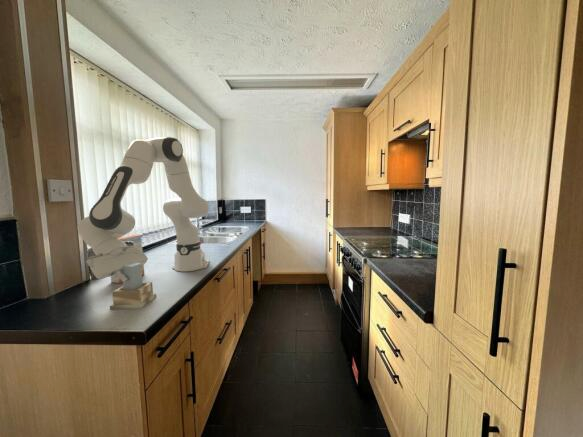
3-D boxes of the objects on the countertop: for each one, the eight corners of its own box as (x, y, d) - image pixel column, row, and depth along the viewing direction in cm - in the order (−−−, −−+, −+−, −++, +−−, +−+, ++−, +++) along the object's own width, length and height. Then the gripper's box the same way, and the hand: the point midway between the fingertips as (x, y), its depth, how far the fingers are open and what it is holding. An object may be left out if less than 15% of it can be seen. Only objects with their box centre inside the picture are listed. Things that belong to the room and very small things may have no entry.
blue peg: (124, 297, 96) (121, 266, 95) (134, 292, 101) (131, 262, 99) (133, 298, 95) (131, 266, 94) (143, 293, 100) (141, 263, 98)
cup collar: (129, 296, 104) (127, 282, 103) (156, 296, 104) (155, 281, 103) (110, 309, 93) (108, 292, 92) (140, 308, 93) (139, 291, 92)
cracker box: (136, 273, 135) (132, 234, 132) (145, 274, 133) (142, 234, 131) (110, 282, 121) (106, 239, 119) (119, 283, 119) (115, 239, 117)
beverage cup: (86, 278, 129) (82, 238, 127) (104, 274, 134) (100, 236, 132) (88, 281, 124) (84, 240, 122) (107, 277, 129) (103, 238, 127)
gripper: (87, 252, 88) (112, 281, 86) (137, 241, 108) (158, 265, 106) (79, 264, 89) (103, 293, 88) (129, 251, 109) (150, 275, 108)
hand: (133, 278), depth 97 cm, fingers closed on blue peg, 4 cm apart
